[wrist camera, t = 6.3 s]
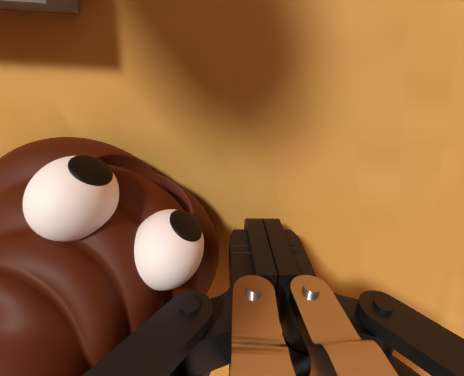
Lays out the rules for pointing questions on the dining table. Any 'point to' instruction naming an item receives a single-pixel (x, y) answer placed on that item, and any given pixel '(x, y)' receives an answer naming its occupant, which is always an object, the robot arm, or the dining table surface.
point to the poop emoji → (90, 252)
